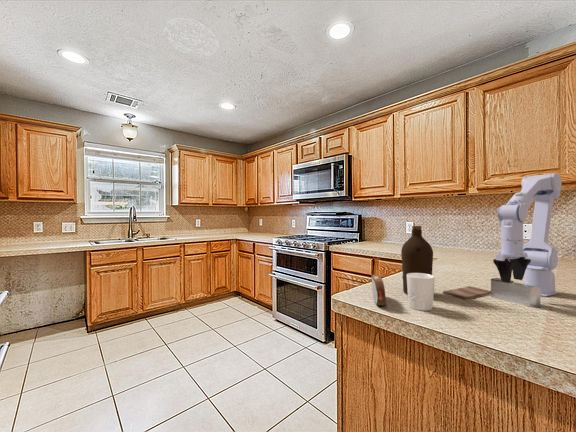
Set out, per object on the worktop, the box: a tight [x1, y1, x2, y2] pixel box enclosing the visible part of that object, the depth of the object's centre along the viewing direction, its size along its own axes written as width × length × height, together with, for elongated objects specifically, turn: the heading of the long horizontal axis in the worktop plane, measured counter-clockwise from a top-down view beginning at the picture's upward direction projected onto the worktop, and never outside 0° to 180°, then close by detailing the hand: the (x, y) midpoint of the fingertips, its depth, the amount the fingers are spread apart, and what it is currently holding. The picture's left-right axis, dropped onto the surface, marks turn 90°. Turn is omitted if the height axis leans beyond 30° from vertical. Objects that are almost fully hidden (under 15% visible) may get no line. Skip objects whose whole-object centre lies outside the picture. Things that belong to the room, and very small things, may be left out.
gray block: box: [490, 277, 542, 309], centre depth 88 cm, size 4×13×6 cm, turn 25°
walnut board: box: [442, 286, 491, 300], centre depth 97 cm, size 16×8×1 cm, turn 115°
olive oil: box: [400, 225, 434, 295], centre depth 98 cm, size 11×11×25 cm
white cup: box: [407, 273, 435, 312], centre depth 83 cm, size 8×8×10 cm
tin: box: [370, 274, 387, 307], centre depth 89 cm, size 15×3×8 cm, turn 168°
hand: (512, 280), depth 89 cm, fingers open, 7 cm apart
